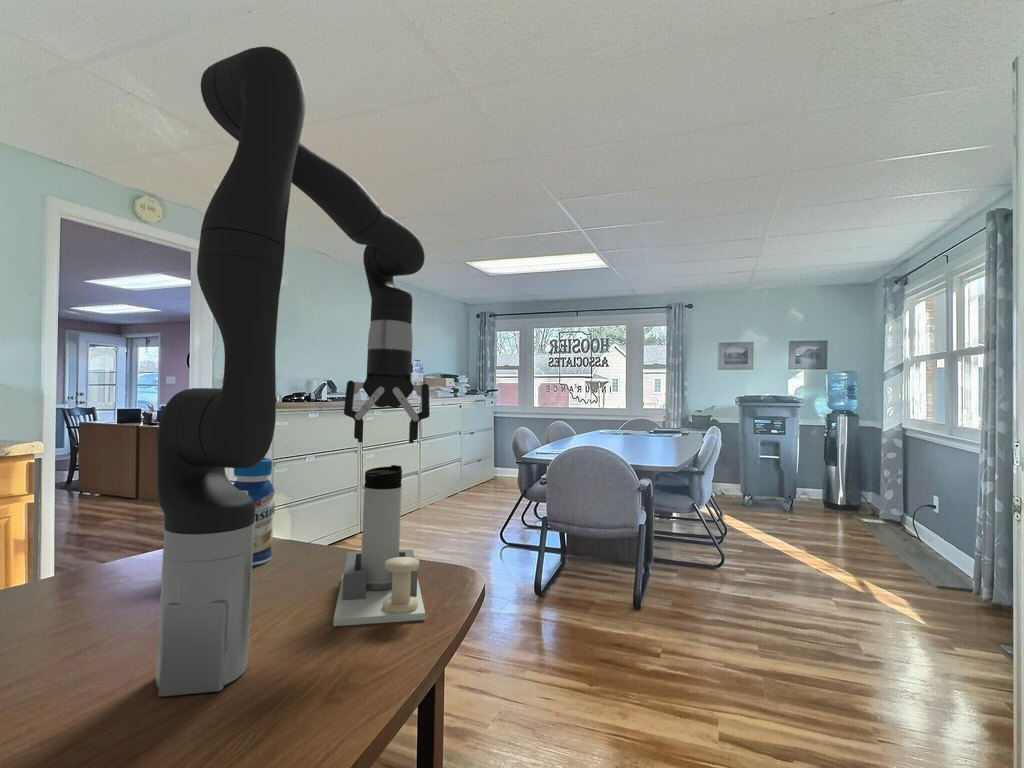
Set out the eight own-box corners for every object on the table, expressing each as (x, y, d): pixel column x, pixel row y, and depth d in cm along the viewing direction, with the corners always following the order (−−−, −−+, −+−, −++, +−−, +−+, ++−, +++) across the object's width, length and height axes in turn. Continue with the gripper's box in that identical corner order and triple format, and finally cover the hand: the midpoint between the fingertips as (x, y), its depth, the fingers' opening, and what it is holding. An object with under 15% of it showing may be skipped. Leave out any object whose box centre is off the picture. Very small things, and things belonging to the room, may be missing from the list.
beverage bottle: (254, 552, 109) (258, 455, 110) (281, 559, 105) (286, 459, 106) (214, 562, 102) (219, 459, 103) (242, 570, 98) (247, 462, 99)
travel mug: (407, 583, 91) (411, 466, 92) (378, 594, 85) (383, 470, 86) (381, 575, 94) (385, 463, 95) (352, 586, 89) (357, 466, 90)
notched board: (425, 619, 78) (426, 566, 79) (333, 626, 75) (335, 571, 76) (415, 576, 98) (417, 533, 98) (342, 579, 95) (344, 535, 95)
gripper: (346, 344, 86) (341, 443, 86) (433, 349, 90) (429, 445, 89) (348, 348, 94) (344, 440, 93) (429, 353, 97) (425, 441, 96)
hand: (386, 442), depth 91 cm, fingers open, 8 cm apart
